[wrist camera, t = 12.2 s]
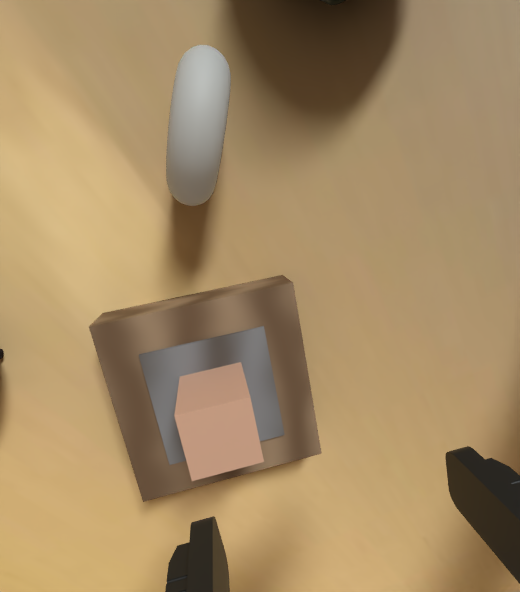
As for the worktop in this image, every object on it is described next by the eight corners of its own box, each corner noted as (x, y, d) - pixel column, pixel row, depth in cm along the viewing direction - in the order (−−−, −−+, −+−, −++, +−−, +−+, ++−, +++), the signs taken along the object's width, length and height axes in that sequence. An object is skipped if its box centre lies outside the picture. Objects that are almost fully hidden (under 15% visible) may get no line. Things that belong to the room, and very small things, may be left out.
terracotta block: (241, 362, 30) (250, 397, 24) (252, 416, 31) (264, 461, 25) (179, 376, 29) (174, 415, 24) (193, 431, 31) (191, 481, 25)
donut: (211, 210, 31) (215, 208, 22) (169, 203, 31) (154, 197, 21) (228, 84, 29) (241, 19, 20) (184, 73, 29) (176, 1, 19)
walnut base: (282, 275, 33) (293, 283, 29) (309, 428, 37) (322, 455, 33) (102, 313, 32) (87, 327, 27) (149, 470, 35) (142, 504, 31)
